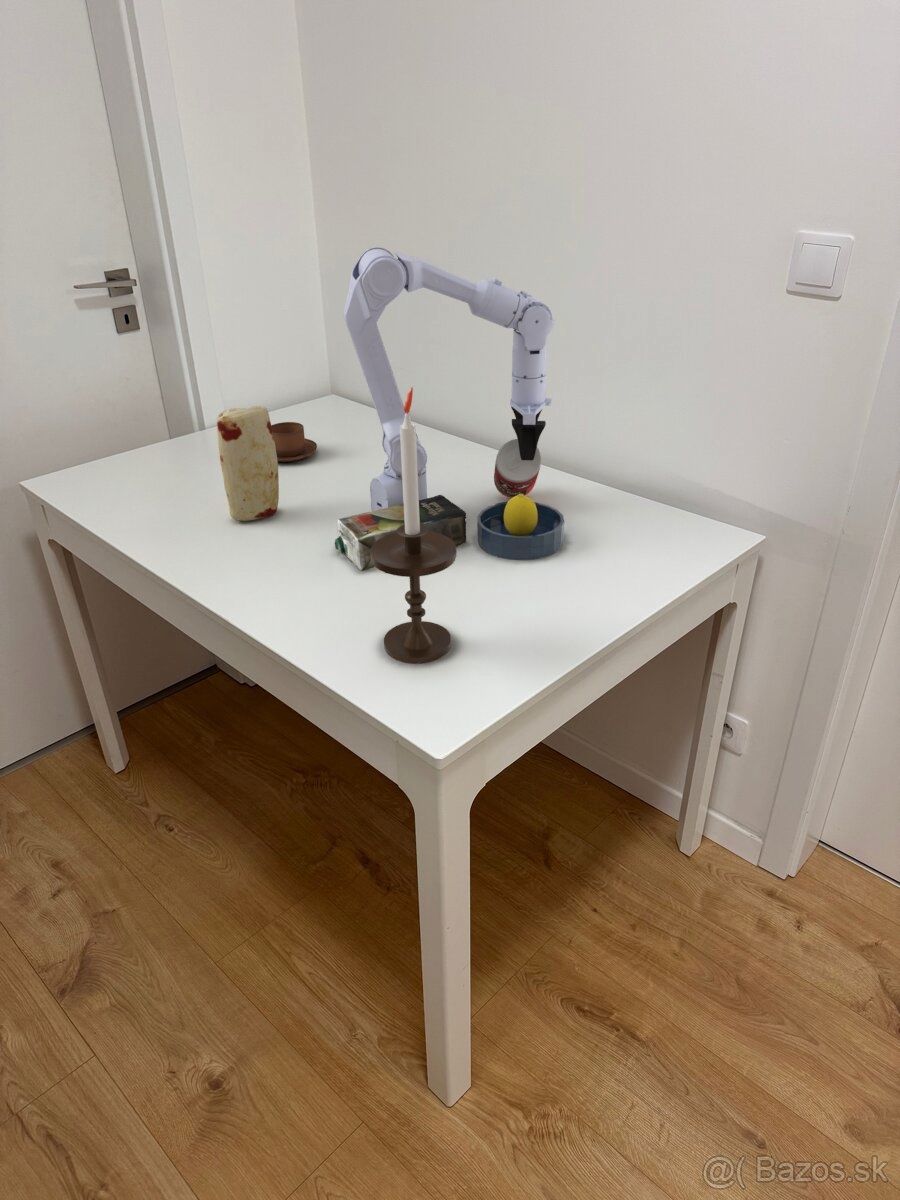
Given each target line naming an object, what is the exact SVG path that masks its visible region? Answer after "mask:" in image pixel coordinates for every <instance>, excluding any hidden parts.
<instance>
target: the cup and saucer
mask: <svg viewBox="0 0 900 1200" xmlns="http://www.w3.org/2000/svg"><path fill="white" fill-rule="evenodd" d="M271 427H272V432H273V436H274V442H275V448H276V455H277V462H278V463H280V462H281V463H287V462H290V463H291V462H296V461H301V460H304V459H306V458H308V457H311V456H312V455H313V454H314V453H315V452H316V451H317V449H318V443H316V442H315V441H314V440H313V439H310V438H306V437H305V429H304V427H305V426H304V425H303V424H302V423H300V422H296V421H283V422H277V423H274V424H271Z"/></svg>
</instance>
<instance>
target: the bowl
mask: <svg viewBox="0 0 900 1200" xmlns="http://www.w3.org/2000/svg"><path fill="white" fill-rule="evenodd" d="M533 502H534V503H535V505H536V508H537V514H538V518H537V524H536V527H535V529H534V530H533V532H532V533H531V534H529V535H527V536H513V535H512V534H510V533H509V532H508V530H507V529H506V527H505V524H504V510H505V507H506V505H507V503H508V501H503V502H498V503H494V504H492V505H489V506H487V507H485V508H483V509H482V510H481V511H480V512H479V513H478V515H477V516H476V541H477V544H478V547H479V548H480V549H481V550H482V551H483V552H485V553H486V554H489V555H491V556H493V557H495V558H500V559H505V560H511V561H530V560H539V559H543V558H546V557H549V556H552V555H553V554H555V553H557V552H558V551H560V549H561V548H562V547H563V544H564V540H565V539H564V538H565V517H564V514H562V513H561V511H559V510H558V509H557V508H555V507H553V506H550V505H548V504H546V503H545V504H544V503H541V502H537V501H533Z"/></svg>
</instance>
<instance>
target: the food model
mask: <svg viewBox="0 0 900 1200" xmlns="http://www.w3.org/2000/svg"><path fill="white" fill-rule="evenodd" d="M271 425H272V422H271V418H270V414H269V410H268V409H267V407H266V406H262V405H261V406H260V405H257V406H250V407H236V408H229V409H226V410H223V411H221V412H220V413H219V414H218V415H217V417H216V430H217V444H218V452H219V453H218V454H219V462H220V466H221V472H222V473H221V474H222V478H223V485H224V491H225V495H226V499H227V503H228V507H229V508H228V509H229V510H228V511H229V516H230V517H231V519H234V520H237V521H241V522H242V521H243V522H245V521H254V520H261V519H263V518H269V517H272V516H274V515H275V514H276V513H277V510H278V508H279V499H280V497H279V496H280V484H279V462H278V461H277V455H276V448H275V442H274V436H273V432H272V427H271Z"/></svg>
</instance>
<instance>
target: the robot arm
mask: <svg viewBox="0 0 900 1200" xmlns="http://www.w3.org/2000/svg"><path fill="white" fill-rule="evenodd" d="M393 253H394V254H395V256H396V257H397V258H396V257H395V256H394V254H393ZM393 253H391V251H389V250H388V249H386V248H384V247H381V246H374V247H370V248H367V249H366V250H365V251H363V253H362V254H361V255H360V256H359V258H358V260H357V261H356V263H355V264H354V266H353V267H352V269H351V273H350V281H349V287H348V291H347V295H346V300H345V304H344V310H343V319H344V322H345V325H346V328H347V330H348V333H349V337H350V339H351V342H352V345H353V349H354V350H355V354H356V356H357V359H358V362H359V365H360V368H361V371H362V374H363V376H364V379H365V382H366V385H367V388H368V391H369V393H370V396H371V399H372V402H373V405H374V407H375V410H376V414H377V416H378V420H379V424H380V426H381V429H382V441H381V443H382V448H383V451H384V453H385V454H386V456H387V460H386V463H385V464H384V466H383V471H382V473H381V474H379V475H377V476H376V477H374V478H372V479H371V481H370V484H369V493H370V507H371V512H372V511H376V510H379V509H385V508H389V507H393V506H396V505H400V504H404V501H403V481H402V461H401V441H400V425H402V424H403V423H404V419H405V414H407V413H405V411H404V406H405V404H404V402H403V399H402V396H401V393H400V390H399V387H398V384H397V381H396V378H395V375H394V373H393V369H392V365H391V363H390V360H389V357H388V354H387V351H386V348H385V345H384V341H383V338H382V336H381V332H380V330H379V326H378V321H379V319H380V318H381V316H382V314H383V312H384V310H385V309H386V307H387V306H388V305H389V304H390V303H391V302H393V301H394V300H395V299H397V297H398V296H399V295H400V294H401V293H402V292H403V291H404V290H405V291H406V292H407V293H412V292H415V291H417V290H420V289H427V290H430V291H432V292H434V293H438V294H441V295H443V296H446V297H449V298H452V299H454V300H457V301H461V302H463V303H466V304H467V305H468V307H469V310H470V313H471V314H472V316H475V317H478V318H480V319H482V320H485V321H488V322H490V323H493V324H496V325H498V326H501V327H503V328H505V329H513V332H512V335H513V336H512V338H513V339H512V351H511V354H512V355H511V357H512V358H511V397H510V399H509V405H510V408H511V410H512V412H513V415H514V417H515V418H511V427H512V428H513V431H514V433H515V435H516V439H518V444H519V451H520V457H521V460H534V457H535V453H536V449H537V448H538V445H539V444H538V443H539V439H540V437H541V435H542V433H543V431H544V429H545V427H546V425H547V423H546V420H539V418H540V416H541V413H542V412H543V409H544V408H545V407H547V406H548V407H549V406H552V405H553V399H552V398H550V397H546V393H547V392H546V391H547V370H548V366H547V365H548V336H549V334H550V333H551V331H552V330H553V328H554V324H555V320H554V319H553V314H552V311H551V309H550V307H549V306H548V305H547V304H546V303H543V302H542V301H541V300H539V299H537V297H536V298H535V297H534V296H533V295H531V294H529V293H528V292H527V291H525V290H522V289H521V290H520V292H519V291H517V290H515V289H512V288H510V287H508V286H505V285H502V284H503V281H502V280H501V279H499V278H496V277H492V278H491V279H488V278H483V279H481V280H479V281H477V282H473V281H470V280H468V279H465V278H464V277H461V276H459V275H457V274H454V273H452V272H450V271H447V270H445V269H443V268H441V267H438V266H436V265H434V264H433V263H430V262H427V261H426V260H423V259H421V258H418V257H415V256H412V255H409V254H405V253H402V252H397V251H394V252H393ZM416 446H417V471H418V496H419V500H423V499H427V498H428V483H427V479H428V478H427V466H426V465H427V462H428V454H427V450H426V449H425V447H424V446H423V445H422V444H421V442H420V440H419V436H418V434H417V433H416Z"/></svg>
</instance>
